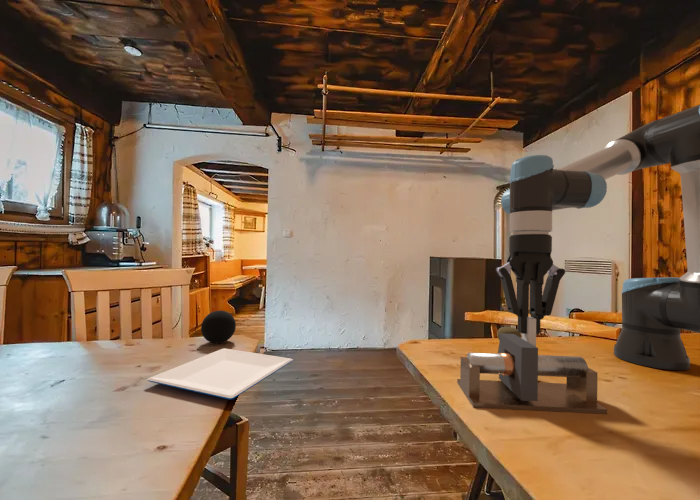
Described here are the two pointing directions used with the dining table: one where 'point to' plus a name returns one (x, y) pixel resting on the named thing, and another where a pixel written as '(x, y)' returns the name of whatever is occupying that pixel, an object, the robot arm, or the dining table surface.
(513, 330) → the cork
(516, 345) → the collar
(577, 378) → the pipe rig
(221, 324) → the decorative ball
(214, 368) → the plate
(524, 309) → the robot arm
